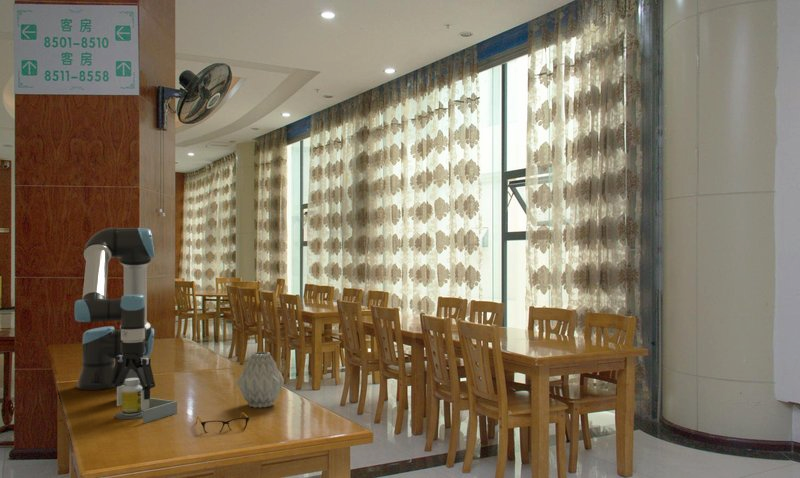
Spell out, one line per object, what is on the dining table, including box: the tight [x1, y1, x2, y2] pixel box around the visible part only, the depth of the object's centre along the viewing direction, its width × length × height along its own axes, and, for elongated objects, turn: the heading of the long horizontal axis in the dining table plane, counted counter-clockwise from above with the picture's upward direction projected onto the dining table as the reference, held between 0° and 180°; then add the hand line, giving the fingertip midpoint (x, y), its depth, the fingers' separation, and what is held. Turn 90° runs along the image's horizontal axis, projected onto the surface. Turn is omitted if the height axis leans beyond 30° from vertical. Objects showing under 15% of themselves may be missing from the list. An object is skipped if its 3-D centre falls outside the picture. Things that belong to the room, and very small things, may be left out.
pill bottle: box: [121, 378, 143, 416], centre depth 226 cm, size 6×6×12 cm
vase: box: [237, 351, 285, 409], centre depth 240 cm, size 16×16×18 cm
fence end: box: [142, 400, 178, 424], centre depth 223 cm, size 1×14×4 cm, turn 153°
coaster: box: [114, 411, 143, 420], centre depth 226 cm, size 11×11×1 cm
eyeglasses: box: [195, 411, 250, 434], centre depth 214 cm, size 14×14×4 cm
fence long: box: [148, 397, 174, 409], centre depth 233 cm, size 19×1×4 cm, turn 64°
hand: (132, 407), depth 226 cm, fingers open, 10 cm apart
